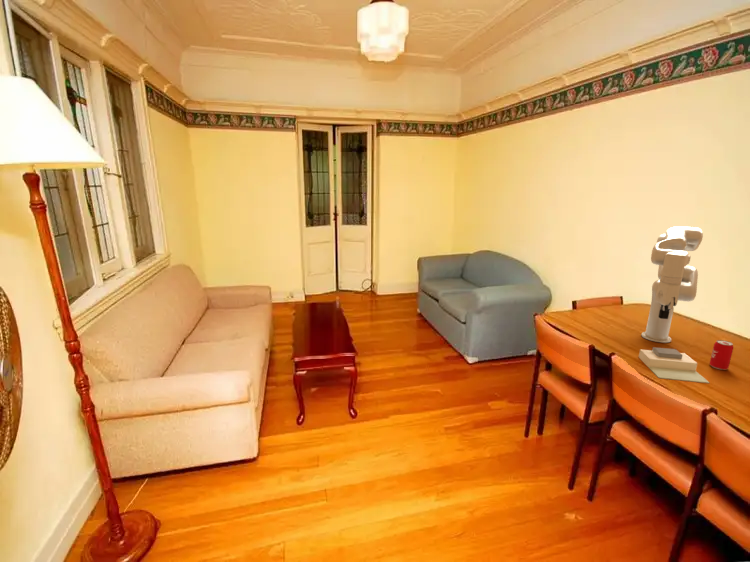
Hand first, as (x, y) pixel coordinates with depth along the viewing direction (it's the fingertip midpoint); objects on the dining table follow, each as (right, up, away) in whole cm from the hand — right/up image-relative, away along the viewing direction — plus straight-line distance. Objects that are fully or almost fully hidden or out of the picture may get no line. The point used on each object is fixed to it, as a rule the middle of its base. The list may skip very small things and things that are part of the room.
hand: (663, 318), depth 172 cm
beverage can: (+19, -21, -8) cm, 29 cm away
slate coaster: (-2, -16, -5) cm, 17 cm away
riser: (-2, -20, -5) cm, 21 cm away
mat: (-5, -23, -14) cm, 27 cm away
